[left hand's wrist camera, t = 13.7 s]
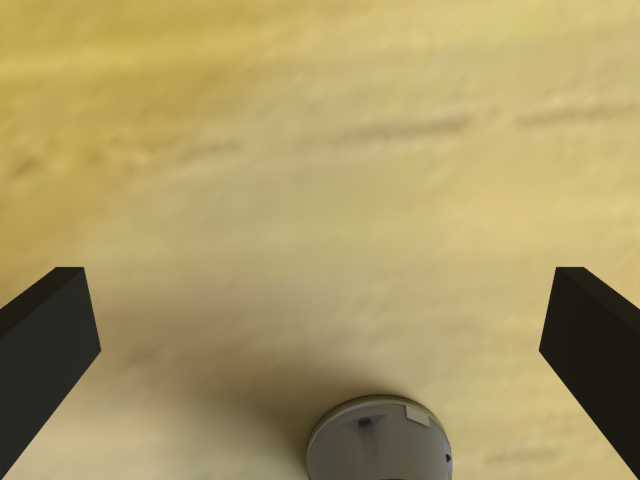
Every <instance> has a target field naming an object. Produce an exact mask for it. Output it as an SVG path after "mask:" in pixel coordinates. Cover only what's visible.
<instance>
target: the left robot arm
mask: <svg viewBox="0 0 640 480" xmlns="http://www.w3.org/2000/svg"><path fill="white" fill-rule="evenodd" d="M100 352H101V347H100V342H99V337H98V332H97V328H96V323H95V318H94V313H93V308H92V304H91V299H90V294H89V289H88V285H87V280H86V275H85V270H84V267H56V268H54V269H53V270H52V271H50V272H49V273H48V274H46V275H45V276H44V277H42V278H41V279H40V280H38V281H37V282H36V283H34V284H33V285H32V286H30V287H29V288H28V289H27V290H25V291H24V292H23V293H21V294H20V295H19V296H17V297H16V298H15V299H13V300H12V301H11V302H9V303H8V304H7V305H5V306H4V307H3V308H1V309H0V480H2V478H3V477H4V476H5V475H6V473H7V472H8V471H9V469H10V468H11V467H12V466H13V464H14V463H15V462H16V460H17V459H18V458H19V457H20V455H21V454H22V453H23V451H24V450H25V449H26V447H27V446H28V445H29V444H30V442H31V441H32V440H33V438H34V437H35V436H36V435H37V433H38V432H39V431H40V429H41V428H42V427H43V425H44V424H45V423H46V422H47V420H48V419H49V418H50V416H51V415H52V414H53V413H54V411H55V410H56V409H57V407H58V406H59V405H60V404H61V402H62V401H63V400H64V398H65V397H66V396H67V394H68V393H69V392H70V391H71V389H72V388H73V387H74V385H75V384H76V383H77V382H78V380H79V379H80V378H81V376H82V375H83V374H84V373H85V371H86V370H87V369H88V367H89V366H90V365H91V363H92V362H93V361H94V360H95V358H96V357H97V356H98V354H99V353H100ZM539 352H540V353H541V354H542V356H543V357H544V358H545V360H546V361H547V362H548V363H549V365H550V366H551V367H552V369H553V370H554V371H555V373H556V374H557V375H558V376H559V378H560V379H561V380H562V382H563V383H564V384H565V385H566V387H567V388H568V389H569V391H570V392H571V393H572V394H573V396H574V397H575V398H576V400H577V401H578V402H579V404H580V405H581V406H582V407H583V409H584V410H585V411H586V413H587V414H588V415H589V416H590V418H591V419H592V420H593V422H594V423H595V424H596V425H597V427H598V428H599V429H600V431H601V432H602V433H603V435H604V436H605V437H606V438H607V440H608V441H609V442H610V444H611V445H612V446H613V447H614V449H615V450H616V451H617V453H618V454H619V455H620V457H621V458H622V459H623V460H624V462H625V463H626V464H627V466H628V467H629V468H630V469H631V471H632V472H633V473H634V475H635V476H636V477H637V478H638V480H640V309H639V308H637V307H636V306H635V305H633V304H632V303H631V302H629V301H628V300H627V299H625V298H624V297H623V296H621V295H620V294H619V293H617V292H616V291H615V290H613V289H612V288H611V287H610V286H608V285H607V284H606V283H604V282H603V281H602V280H600V279H599V278H598V277H596V276H595V275H594V274H592V273H591V272H590V271H588V270H587V269H586V268H584V267H556V270H555V275H554V280H553V285H552V289H551V294H550V299H549V304H548V308H547V313H546V318H545V323H544V328H543V332H542V337H541V342H540V347H539ZM306 464H307V472H308V478H309V480H452V454H451V448H450V445H449V441H448V439H447V436H446V433H445V431H444V428H443V427H442V425H441V423H440V422H439V421H438V419H437V418H436V417H435V416H434V415H433V414H432V413H431V412H430V411H428V410H427V409H426V408H424V407H423V406H421V405H419V404H417V403H415V402H412V401H410V400H407V399H404V398H399V397H394V396H383V395H381V396H367V397H362V398H358V399H354V400H351V401H348V402H346V403H344V404H342V405H340V406H338V407H336V408H334V409H333V410H331V411H330V412H329V413H327V414H326V415H325V416H324V417H323V418H322V419H321V420H320V421H319V422H318V424H317V425H316V426H315V428H314V429H313V431H312V433H311V435H310V438H309V441H308V445H307V460H306Z"/></svg>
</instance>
